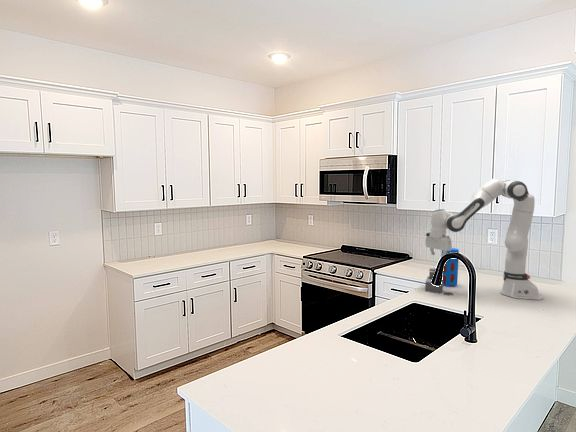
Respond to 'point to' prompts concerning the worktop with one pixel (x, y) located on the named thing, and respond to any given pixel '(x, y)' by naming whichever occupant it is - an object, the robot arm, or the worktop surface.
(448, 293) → the lens cap
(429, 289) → the camera body
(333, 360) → the worktop surface
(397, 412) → the worktop surface
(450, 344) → the worktop surface
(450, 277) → the blue red-spotted block
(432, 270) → the lens
